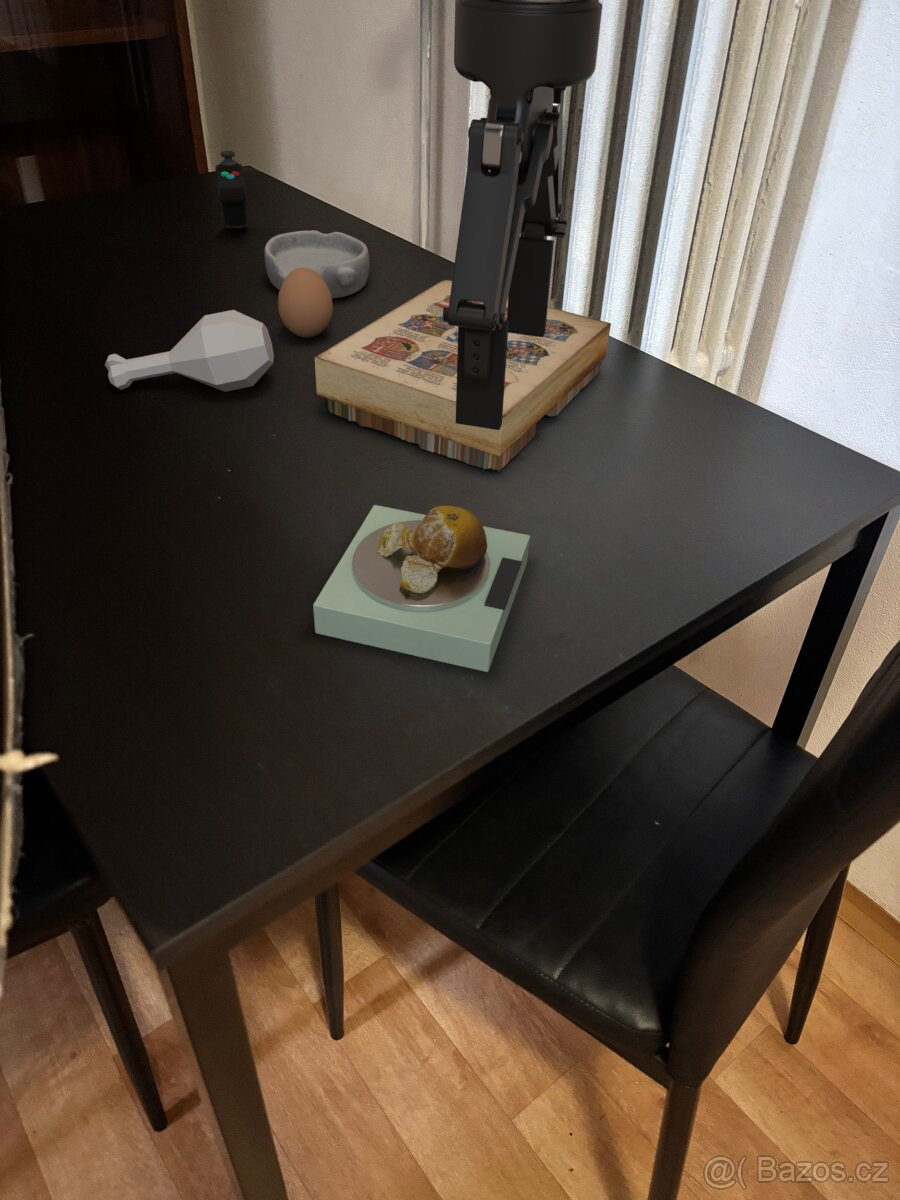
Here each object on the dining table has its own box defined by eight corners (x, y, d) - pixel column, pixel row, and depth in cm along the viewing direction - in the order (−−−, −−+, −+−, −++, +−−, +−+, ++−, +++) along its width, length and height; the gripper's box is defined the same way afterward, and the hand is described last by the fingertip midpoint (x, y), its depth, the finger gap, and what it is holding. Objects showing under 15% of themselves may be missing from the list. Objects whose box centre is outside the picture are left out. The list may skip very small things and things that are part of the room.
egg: (345, 333, 112) (342, 267, 106) (310, 352, 107) (306, 284, 102) (304, 320, 114) (299, 254, 109) (269, 337, 110) (263, 270, 105)
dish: (366, 305, 118) (365, 267, 115) (259, 301, 118) (255, 263, 114) (373, 263, 129) (372, 227, 126) (275, 260, 129) (272, 223, 125)
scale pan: (503, 540, 76) (504, 534, 76) (469, 624, 68) (470, 618, 68) (379, 515, 78) (379, 509, 78) (332, 594, 70) (331, 588, 70)
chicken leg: (124, 369, 104) (89, 319, 97) (277, 339, 103) (254, 287, 96) (123, 428, 101) (87, 381, 93) (281, 398, 100) (258, 348, 92)
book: (431, 318, 116) (296, 406, 98) (432, 268, 112) (292, 350, 94) (608, 369, 108) (497, 476, 89) (617, 317, 103) (503, 418, 85)
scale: (528, 562, 79) (531, 532, 77) (489, 673, 68) (492, 642, 66) (374, 531, 81) (373, 502, 79) (314, 633, 71) (312, 602, 69)
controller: (249, 215, 142) (241, 146, 136) (253, 244, 133) (245, 171, 126) (220, 216, 141) (212, 147, 135) (223, 245, 132) (214, 172, 126)
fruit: (369, 538, 74) (368, 501, 72) (461, 517, 77) (463, 480, 75) (407, 600, 69) (408, 562, 66) (505, 574, 72) (509, 537, 69)
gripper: (511, -41, 56) (493, 296, 70) (378, 20, 38) (389, 461, 51) (633, -34, 54) (590, 309, 68) (557, 33, 36) (519, 483, 50)
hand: (504, 375), depth 60 cm, fingers open, 13 cm apart
